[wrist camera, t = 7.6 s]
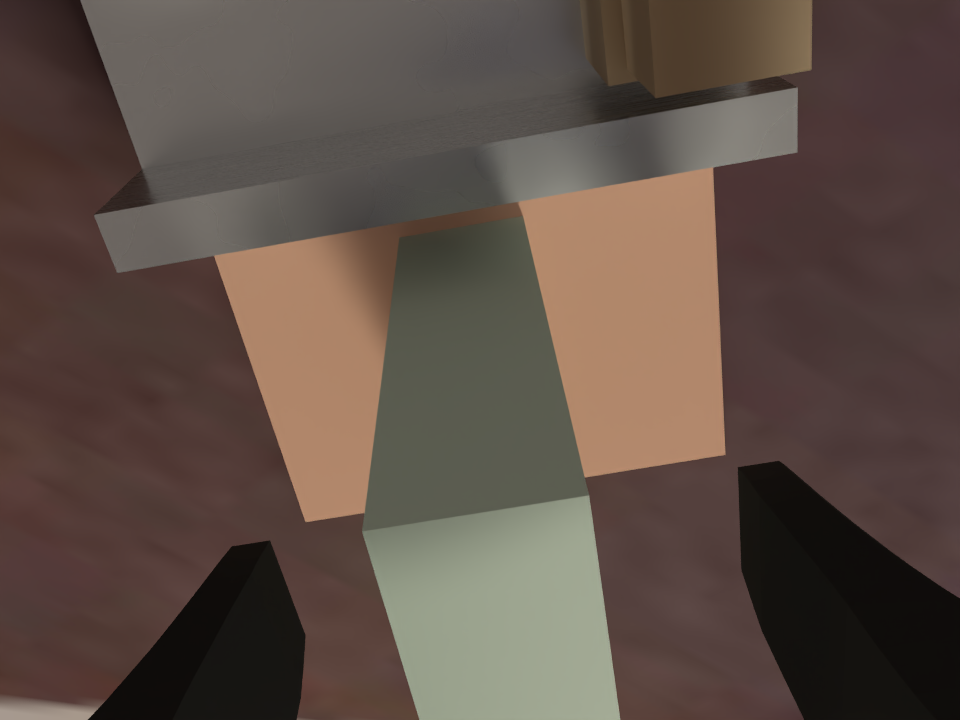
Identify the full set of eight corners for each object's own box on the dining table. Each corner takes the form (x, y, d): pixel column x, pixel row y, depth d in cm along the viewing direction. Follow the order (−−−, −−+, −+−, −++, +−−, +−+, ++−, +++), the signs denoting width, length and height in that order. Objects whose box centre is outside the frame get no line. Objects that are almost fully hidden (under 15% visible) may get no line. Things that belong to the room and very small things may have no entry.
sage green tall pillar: (522, 215, 17) (588, 495, 9) (560, 459, 20) (635, 831, 12) (399, 237, 17) (362, 531, 10) (454, 476, 20) (461, 855, 12)
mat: (708, 157, 17) (712, 162, 17) (721, 447, 21) (725, 455, 20) (216, 246, 18) (212, 251, 17) (307, 513, 21) (305, 521, 21)
